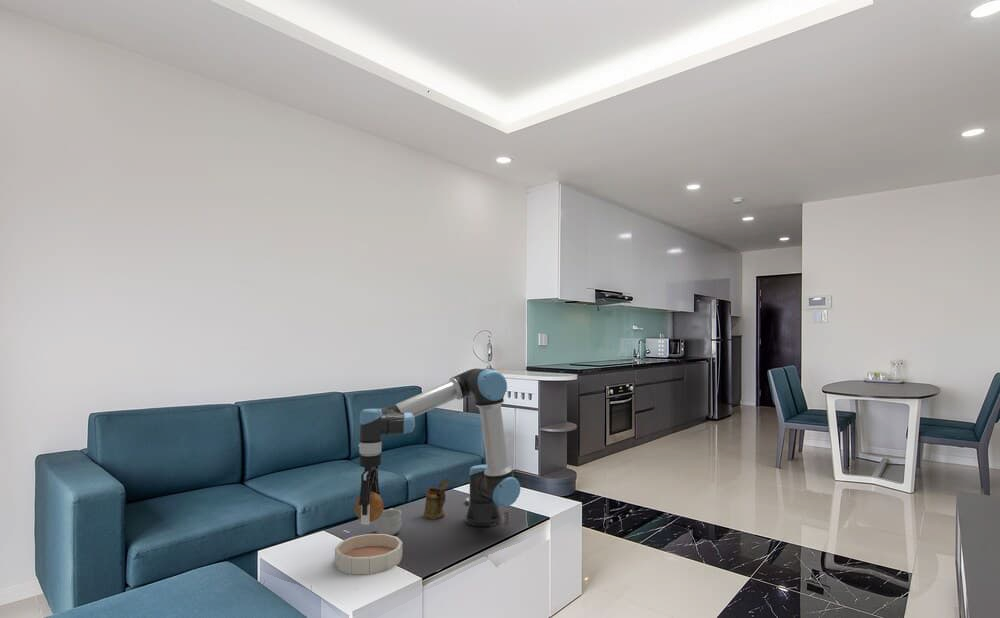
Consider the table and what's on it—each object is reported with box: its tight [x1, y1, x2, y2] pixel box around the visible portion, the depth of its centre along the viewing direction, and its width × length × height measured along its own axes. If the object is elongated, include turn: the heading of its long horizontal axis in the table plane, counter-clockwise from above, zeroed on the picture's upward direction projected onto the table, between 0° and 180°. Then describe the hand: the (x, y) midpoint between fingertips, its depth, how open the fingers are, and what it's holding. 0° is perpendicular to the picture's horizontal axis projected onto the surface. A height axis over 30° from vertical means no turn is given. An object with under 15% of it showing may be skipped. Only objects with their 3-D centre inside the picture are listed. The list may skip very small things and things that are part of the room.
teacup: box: [373, 507, 402, 536], centre depth 210 cm, size 14×11×8 cm
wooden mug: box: [422, 476, 451, 520], centre depth 228 cm, size 9×14×18 cm, turn 49°
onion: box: [354, 491, 384, 523], centre depth 184 cm, size 10×10×10 cm
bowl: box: [334, 533, 403, 575], centre depth 183 cm, size 22×22×5 cm
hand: (369, 518), depth 184 cm, fingers closed on onion, 10 cm apart
